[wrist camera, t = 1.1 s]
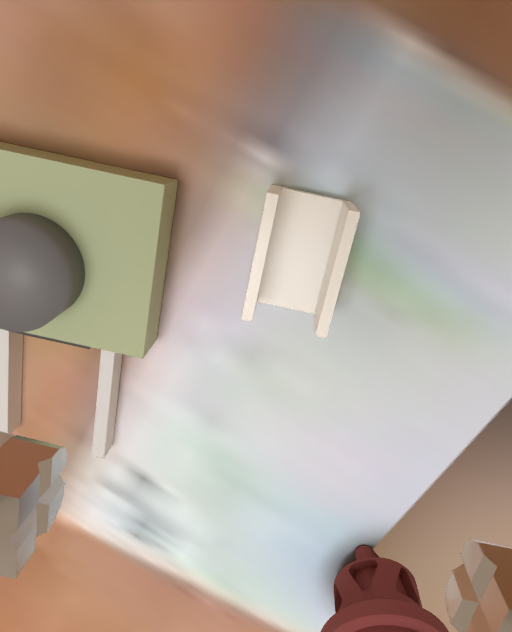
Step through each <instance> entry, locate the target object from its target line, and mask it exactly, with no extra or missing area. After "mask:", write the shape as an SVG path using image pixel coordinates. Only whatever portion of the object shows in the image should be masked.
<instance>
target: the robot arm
mask: <svg viewBox="0 0 512 632" xmlns="http://www.w3.org/2000/svg"><path fill="white" fill-rule="evenodd" d="M66 457H67V450H66V449H65V448H64V447H62V446H58V445H54V444H50V443H46V442H42V441H38V440H34V439H30V438H26V437H22V436H18V435H16V436H15V435H13V434H9V433H5V432H1V431H0V576H3V577H8V578H13V579H16V578H17V576H18V575H19V573H20V572H21V570H22V569H23V567H24V566H25V564H26V563H27V561H28V560H29V558H30V557H31V555H32V554H33V552H34V551H35V545H36V537H38V536H40V535H41V534H43V533H45V532H47V531H48V529H49V528H50V526H51V525H52V523H53V522H54V520H55V518H56V515H57V513H58V511H59V508H60V506H61V502H62V498H63V494H64V485H65V483H64V481H63V479H62V478H61V476H60V475H59V474H60V472H61V471H62V470H63V468H64V467H65V466H66ZM460 555H461V557H462V560H463V562H464V564H463V565H461V566H459V567H457V568H456V569H454V570H453V571H452V573H451V575H450V578H449V580H448V583H447V590H446V605H447V612H448V615H449V618H450V621H451V624H452V625H453V626H454V627H455V628H456V629H457V631H458V632H512V548H511V547H506V546H501V545H497V544H492V543H488V542H483V541H479V540H474V539H469V540H468V541H467V542H466V543H465V544H464V546H463V548H462V550H461V553H460Z"/></svg>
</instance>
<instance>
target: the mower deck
mask: <svg viewBox="0 0 512 632" xmlns="http://www.w3.org/2000/svg"><path fill="white" fill-rule="evenodd" d="M177 187H178V180H176V179H171V178H167V177H162V176H158V175H153V174H148V173H144V172H139V171H134V170H130V169H125V168H120V167H116V166H111V165H107V164H102V163H97V162H93V161H88V160H83V159H79V158H74V157H70V156H65V155H60V154H56V153H51V152H46V151H42V150H37V149H32V148H28V147H23V146H19V145H14V144H9V143H5V142H0V431H1V432H5V433H9V434H11V433H12V432H13V431H14V430H15V429H16V428H17V427H18V426H19V425H20V424H21V402H22V361H23V335H28V336H32V337H37V338H41V339H46V340H51V341H55V342H60V343H64V344H69V345H73V346H78V347H82V348H87V349H90V348H91V347H93V348H97V349H101V359H100V370H99V381H98V392H97V404H96V415H95V426H94V437H93V448H92V456H94V457H98V458H103V459H104V458H105V456H106V454H107V453H108V451H109V449H110V448H111V446H112V445H113V438H114V429H115V420H116V411H117V402H118V392H119V383H120V374H121V365H122V356H123V354H124V355H129V356H133V357H138V358H142V359H143V358H144V356H145V355H146V353H147V352H148V351H149V349H150V348H151V346H152V345H153V344H154V342H155V341H156V339H157V334H158V327H159V319H160V312H161V305H162V297H163V290H164V283H165V275H166V268H167V261H168V253H169V246H170V238H171V231H172V224H173V216H174V209H175V202H176V194H177Z"/></svg>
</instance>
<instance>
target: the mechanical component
mask: <svg viewBox="0 0 512 632" xmlns="http://www.w3.org/2000/svg"><path fill="white" fill-rule="evenodd" d="M355 560H356V561H354V562H351V563H349V564H348V565H346V566H345V567H344V568H343V569H342V570H341V571H340V572H339V573H338V575H337V576H336V578H335V581H334V598H335V611H336V614H334V615H333V616H332V617H331V618H330V619H329V620H328V621H327V622H326V624H325V625H324V626H323V628H322V630H321V632H448V630H447V628H446V627H445V626H444V624H443V623H442V622H441V621H440V620H439V619H438V618H437V617H436V616H435V615H433V614H432V613H430V612H429V611H427V610H425V609H423V608H422V605H421V601H420V597H419V593H418V589H417V585H416V582H415V579H414V577H413V575H412V574H411V572H410V571H409V570H408V569H407V568H405V567H404V566H403V565H401V564H399V563H398V562H395V561H393V560H390V559H386V558H380V557H379V556H378V555H377V554H376V553H375V552H374V550H373V549H372V548H371V547H369V546H364V545H363V546H359V547H358V548H356V550H355Z"/></svg>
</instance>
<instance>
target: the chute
mask: <svg viewBox="0 0 512 632" xmlns="http://www.w3.org/2000/svg"><path fill="white" fill-rule="evenodd" d="M360 214H361V212H360V211H359V210H358V208H357V207H356V206H355V204H354V203H353V202H351V201H346V200H342V199H337V198H332V197H328V196H323V195H318V194H314V193H309V192H304V191H300V190H295V189H291V188H286V187H281V186H277V185H271V187H270V188H269V190H268V191H267V194H266V199H265V204H264V209H263V214H262V219H261V224H260V229H259V234H258V239H257V244H256V249H255V254H254V259H253V263H252V268H251V273H250V278H249V283H248V288H247V293H246V298H245V303H244V308H243V313H242V318H241V319H242V320H247V321H251V322H252V320H253V316H254V312H255V309H256V305H257V302H262V303H267V304H271V305H276V306H280V307H285V308H289V309H294V310H299V311H303V312H308V313H312V314H314V323H315V336H320V337H324V338H326V337H327V333H328V330H329V326H330V322H331V319H332V315H333V311H334V308H335V304H336V301H337V297H338V293H339V290H340V286H341V283H342V279H343V275H344V272H345V268H346V264H347V261H348V257H349V254H350V250H351V246H352V243H353V239H354V235H355V232H356V228H357V225H358V221H359V217H360Z"/></svg>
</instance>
